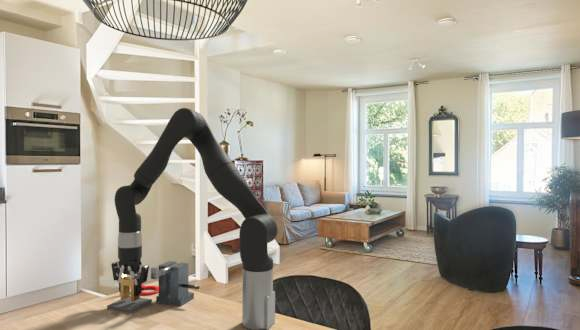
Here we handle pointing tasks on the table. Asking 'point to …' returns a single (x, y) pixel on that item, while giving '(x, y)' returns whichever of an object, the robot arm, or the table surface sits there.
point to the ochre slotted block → (128, 289)
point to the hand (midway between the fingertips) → (130, 294)
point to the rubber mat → (129, 305)
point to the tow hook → (149, 288)
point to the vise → (173, 283)
